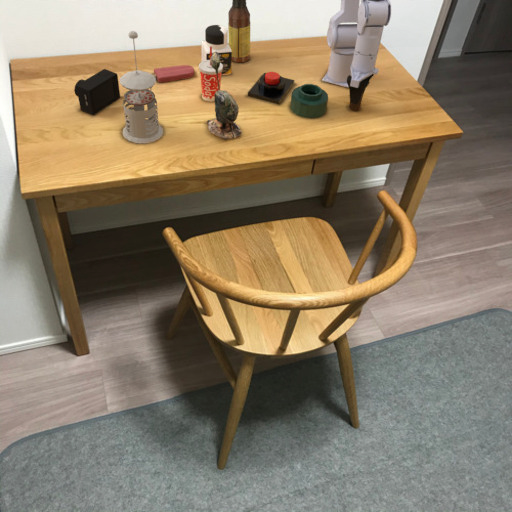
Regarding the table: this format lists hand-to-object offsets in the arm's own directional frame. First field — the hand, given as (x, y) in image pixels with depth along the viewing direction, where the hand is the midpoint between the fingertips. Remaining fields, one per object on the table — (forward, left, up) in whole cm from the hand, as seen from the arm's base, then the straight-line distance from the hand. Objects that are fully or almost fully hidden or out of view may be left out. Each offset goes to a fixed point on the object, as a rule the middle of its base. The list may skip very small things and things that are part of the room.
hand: (356, 99), depth 148 cm
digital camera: (+29, -60, -3) cm, 67 cm away
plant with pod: (+26, -26, -3) cm, 37 cm away
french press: (+34, -44, -3) cm, 56 cm away
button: (+2, -23, 0) cm, 23 cm away
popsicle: (+9, -51, -3) cm, 52 cm away
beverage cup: (+13, -36, -3) cm, 38 cm away
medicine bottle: (-1, -41, -3) cm, 41 cm away
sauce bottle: (-10, -38, -3) cm, 39 cm away
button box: (+2, -23, -3) cm, 23 cm away
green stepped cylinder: (+6, -11, -3) cm, 13 cm away
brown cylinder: (0, 0, -3) cm, 3 cm away
